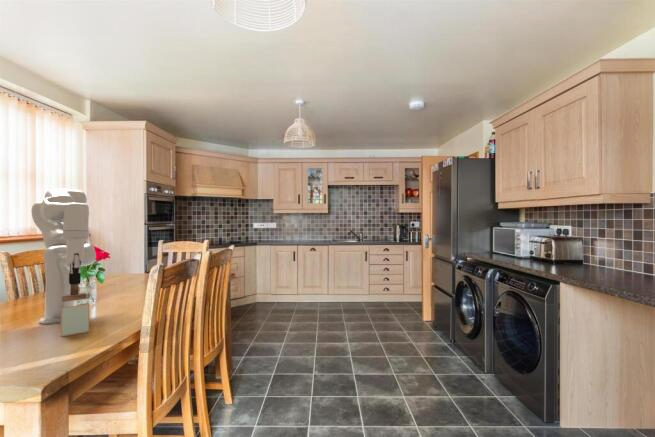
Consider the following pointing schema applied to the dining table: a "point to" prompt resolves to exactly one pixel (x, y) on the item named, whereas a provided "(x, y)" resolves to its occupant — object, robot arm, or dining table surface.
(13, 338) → the dining table surface
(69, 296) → the tool
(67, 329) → the tile
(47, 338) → the dining table surface
